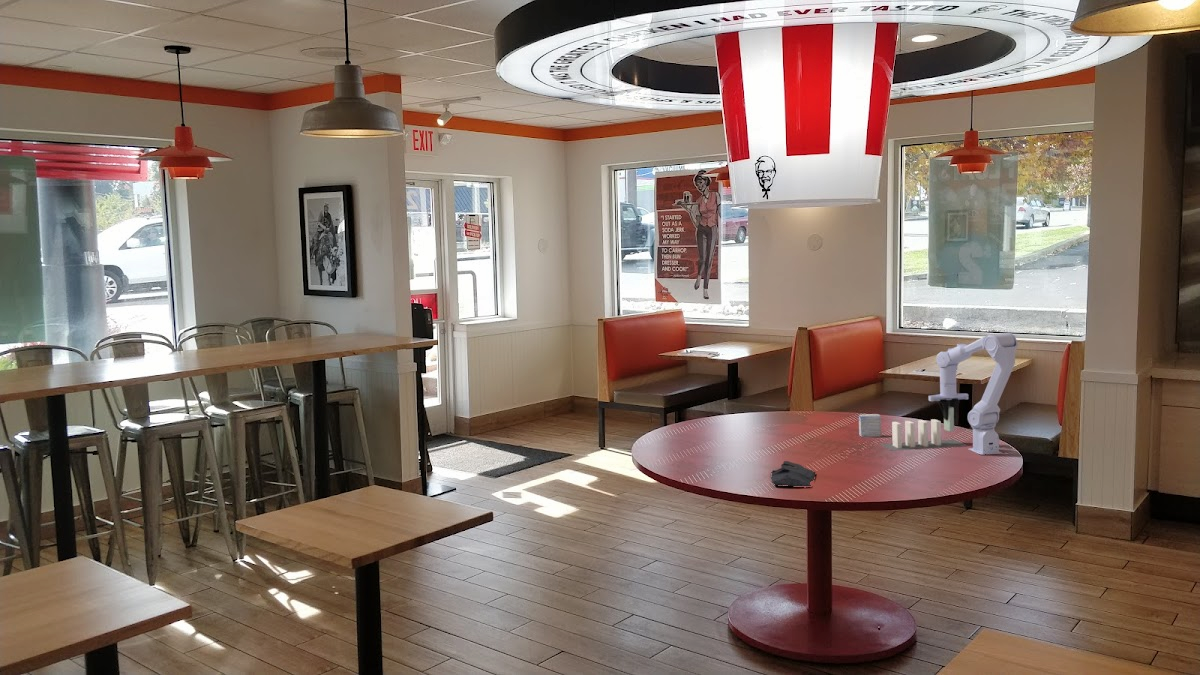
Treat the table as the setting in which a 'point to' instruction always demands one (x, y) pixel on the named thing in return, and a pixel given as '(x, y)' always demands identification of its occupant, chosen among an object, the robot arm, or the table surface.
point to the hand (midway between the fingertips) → (948, 419)
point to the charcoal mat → (917, 446)
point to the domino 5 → (949, 420)
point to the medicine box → (870, 425)
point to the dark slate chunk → (792, 475)
